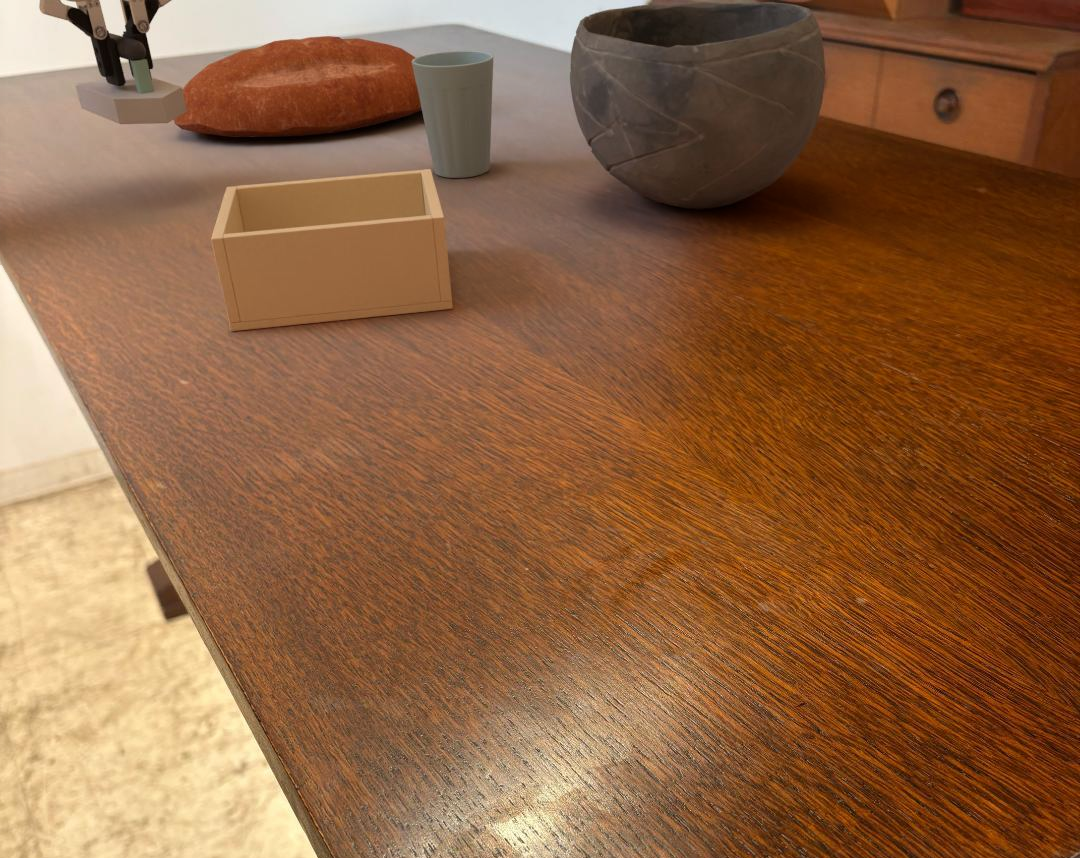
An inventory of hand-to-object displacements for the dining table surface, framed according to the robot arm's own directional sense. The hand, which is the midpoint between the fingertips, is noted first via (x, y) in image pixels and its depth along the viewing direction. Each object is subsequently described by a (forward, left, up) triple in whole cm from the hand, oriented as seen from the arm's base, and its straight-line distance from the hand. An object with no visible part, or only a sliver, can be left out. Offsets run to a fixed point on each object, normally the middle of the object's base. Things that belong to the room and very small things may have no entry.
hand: (129, 80), depth 101 cm
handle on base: (0, -1, -3) cm, 3 cm away
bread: (+15, +26, -11) cm, 32 cm away
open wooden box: (+18, -32, -10) cm, 38 cm away
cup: (+30, -2, -11) cm, 32 cm away
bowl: (+49, -18, -11) cm, 53 cm away
